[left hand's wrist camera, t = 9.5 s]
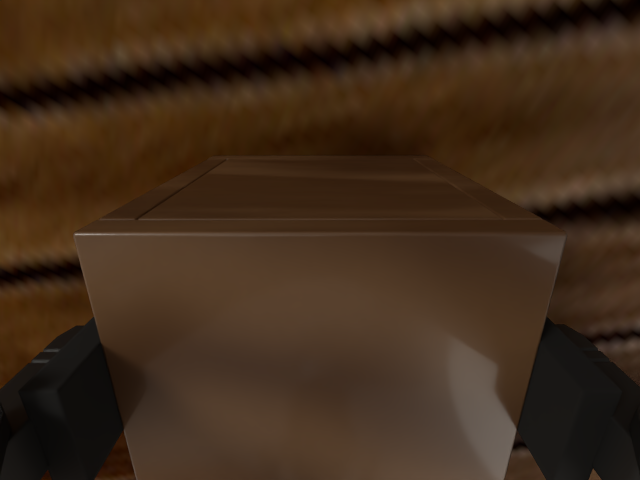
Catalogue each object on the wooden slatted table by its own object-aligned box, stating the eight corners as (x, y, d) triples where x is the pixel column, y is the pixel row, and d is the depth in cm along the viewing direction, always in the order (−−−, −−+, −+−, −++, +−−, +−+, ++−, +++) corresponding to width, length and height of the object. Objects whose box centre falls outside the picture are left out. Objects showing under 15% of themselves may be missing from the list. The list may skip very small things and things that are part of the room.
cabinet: (396, 458, 25) (447, 703, 15) (244, 458, 25) (193, 703, 15) (427, 155, 17) (570, 232, 7) (212, 155, 17) (69, 232, 7)
